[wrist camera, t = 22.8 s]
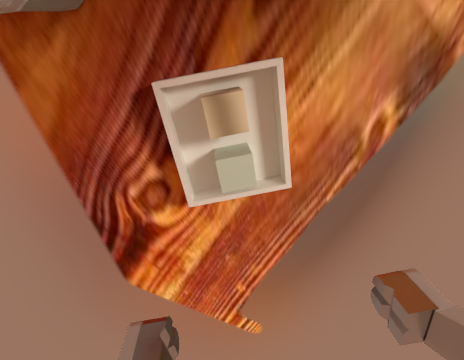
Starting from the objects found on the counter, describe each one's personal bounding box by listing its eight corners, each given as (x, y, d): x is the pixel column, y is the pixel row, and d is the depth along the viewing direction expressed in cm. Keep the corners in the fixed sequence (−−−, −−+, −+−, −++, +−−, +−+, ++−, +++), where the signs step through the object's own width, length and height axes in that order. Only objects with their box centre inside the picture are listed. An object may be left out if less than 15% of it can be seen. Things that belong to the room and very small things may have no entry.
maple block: (238, 86, 32) (243, 89, 28) (244, 122, 34) (249, 131, 30) (202, 93, 32) (201, 98, 28) (210, 129, 34) (210, 139, 30)
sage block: (247, 142, 36) (252, 153, 31) (251, 171, 38) (257, 186, 33) (214, 148, 36) (214, 160, 31) (220, 177, 38) (222, 193, 34)
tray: (274, 57, 32) (282, 57, 28) (284, 176, 40) (291, 187, 36) (157, 80, 32) (151, 82, 28) (190, 194, 40) (189, 207, 36)
